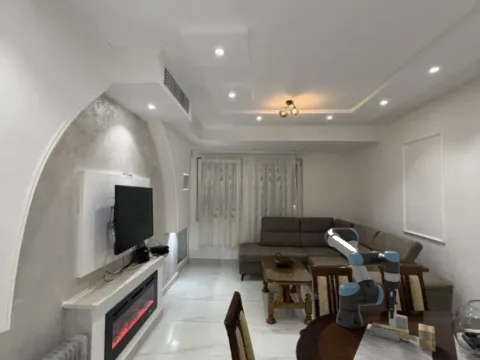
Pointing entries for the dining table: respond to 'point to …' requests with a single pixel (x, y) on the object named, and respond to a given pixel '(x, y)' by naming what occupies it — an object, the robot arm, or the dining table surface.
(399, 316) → the medicine box
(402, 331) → the tan slab piece
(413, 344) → the dining table surface
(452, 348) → the dining table surface
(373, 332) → the guide channel
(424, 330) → the socket block
